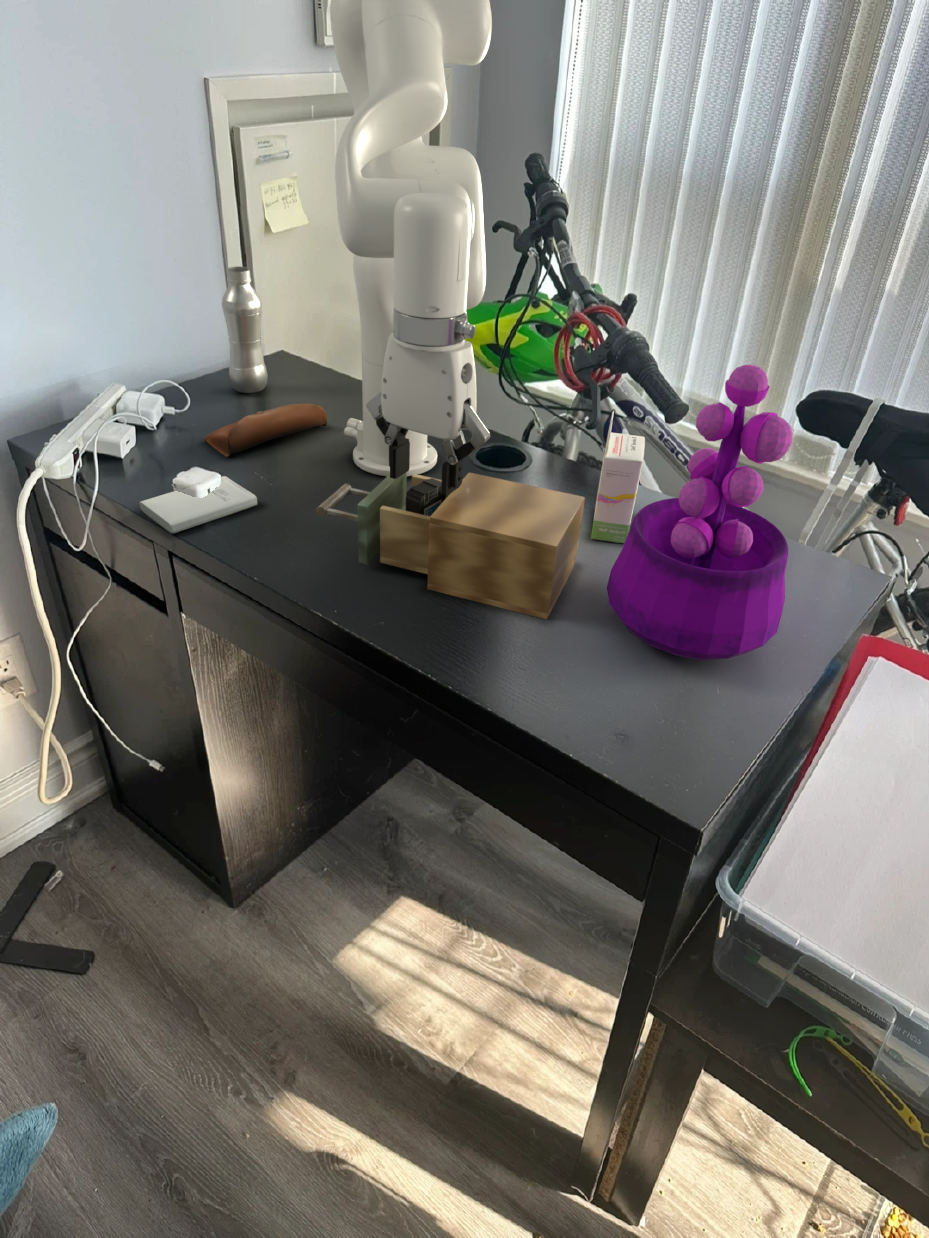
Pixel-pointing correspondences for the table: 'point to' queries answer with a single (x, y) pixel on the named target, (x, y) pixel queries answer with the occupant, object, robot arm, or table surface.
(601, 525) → the ink box
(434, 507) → the ink cartridge
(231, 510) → the hard drive
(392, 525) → the drawer
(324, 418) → the sunglasses case
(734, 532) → the decorative plant
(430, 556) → the cabinet
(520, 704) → the table surface
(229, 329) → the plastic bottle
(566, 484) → the table surface
